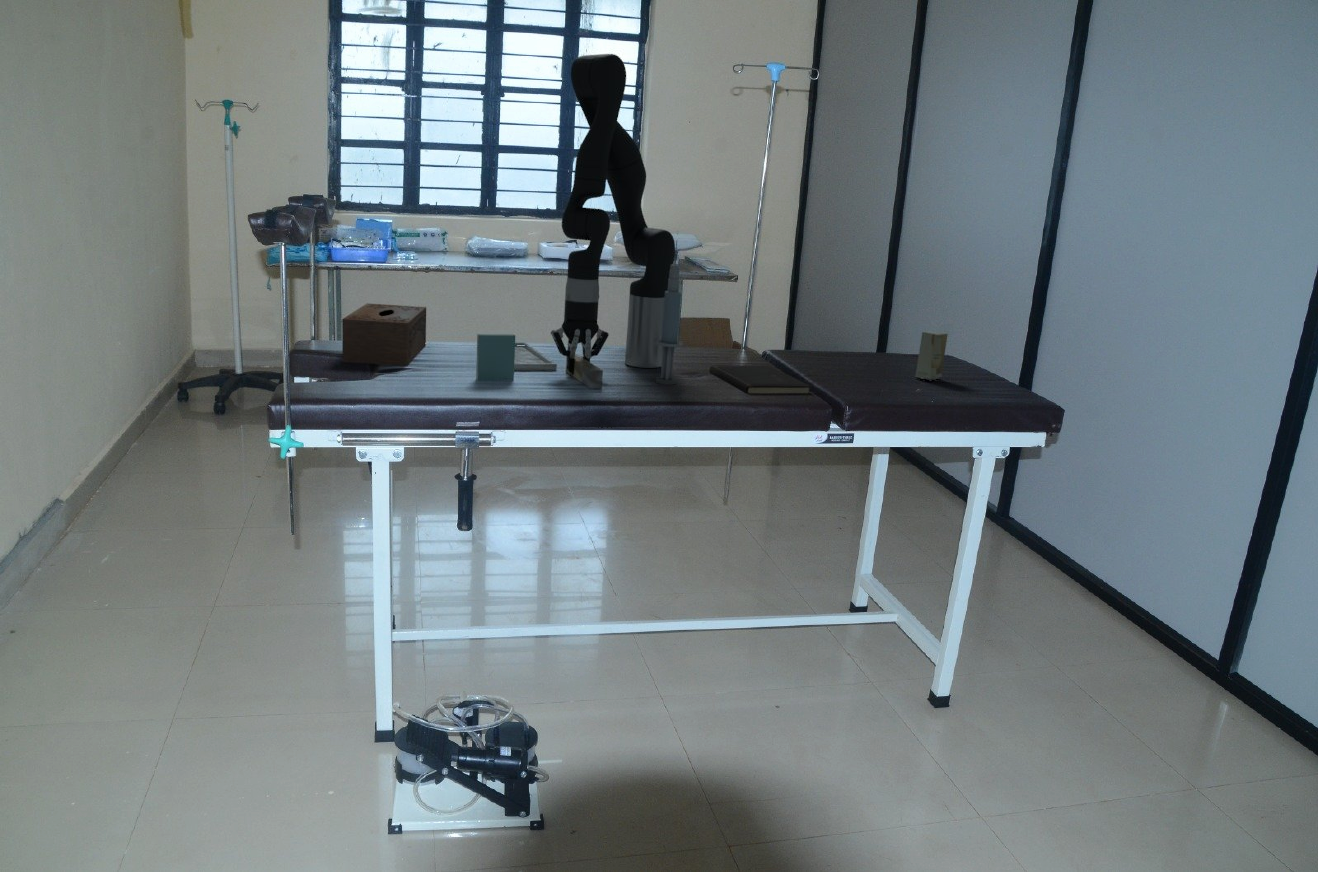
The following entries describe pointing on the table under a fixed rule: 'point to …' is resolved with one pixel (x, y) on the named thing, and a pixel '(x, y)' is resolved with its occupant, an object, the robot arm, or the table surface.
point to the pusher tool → (587, 372)
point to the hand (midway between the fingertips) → (577, 373)
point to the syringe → (670, 325)
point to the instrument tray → (531, 359)
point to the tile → (495, 357)
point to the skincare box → (931, 355)
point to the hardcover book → (759, 379)
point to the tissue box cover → (384, 334)
